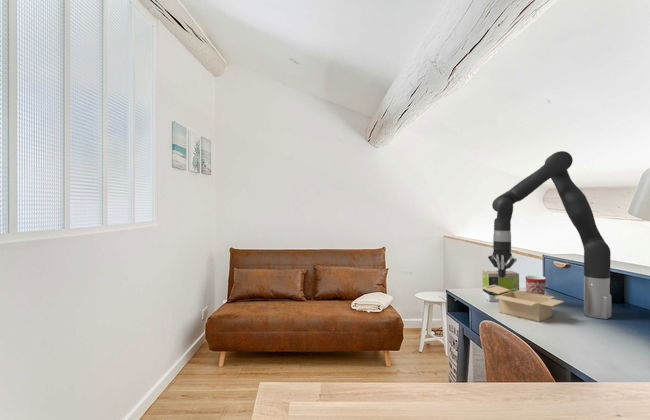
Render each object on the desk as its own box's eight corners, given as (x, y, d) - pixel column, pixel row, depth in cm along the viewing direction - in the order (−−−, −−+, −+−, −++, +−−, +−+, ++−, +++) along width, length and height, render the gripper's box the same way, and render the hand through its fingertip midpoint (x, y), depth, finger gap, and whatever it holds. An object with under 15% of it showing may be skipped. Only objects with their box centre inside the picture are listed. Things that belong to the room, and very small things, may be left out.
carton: (568, 317, 162) (568, 298, 162) (546, 327, 149) (546, 307, 148) (517, 306, 179) (517, 289, 179) (493, 314, 166) (493, 296, 166)
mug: (549, 307, 177) (549, 279, 177) (528, 306, 180) (528, 278, 179) (540, 300, 190) (540, 274, 190) (520, 299, 192) (520, 273, 192)
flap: (510, 289, 176) (494, 284, 183) (498, 293, 170) (482, 287, 176) (510, 290, 176) (494, 285, 183) (498, 294, 170) (482, 288, 176)
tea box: (511, 297, 196) (511, 269, 196) (519, 302, 186) (519, 273, 186) (482, 297, 198) (482, 269, 198) (488, 302, 188) (488, 272, 188)
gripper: (520, 240, 171) (520, 278, 171) (492, 238, 181) (492, 274, 182) (512, 241, 166) (512, 280, 166) (484, 239, 177) (484, 276, 177)
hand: (501, 277), depth 174 cm, fingers closed
